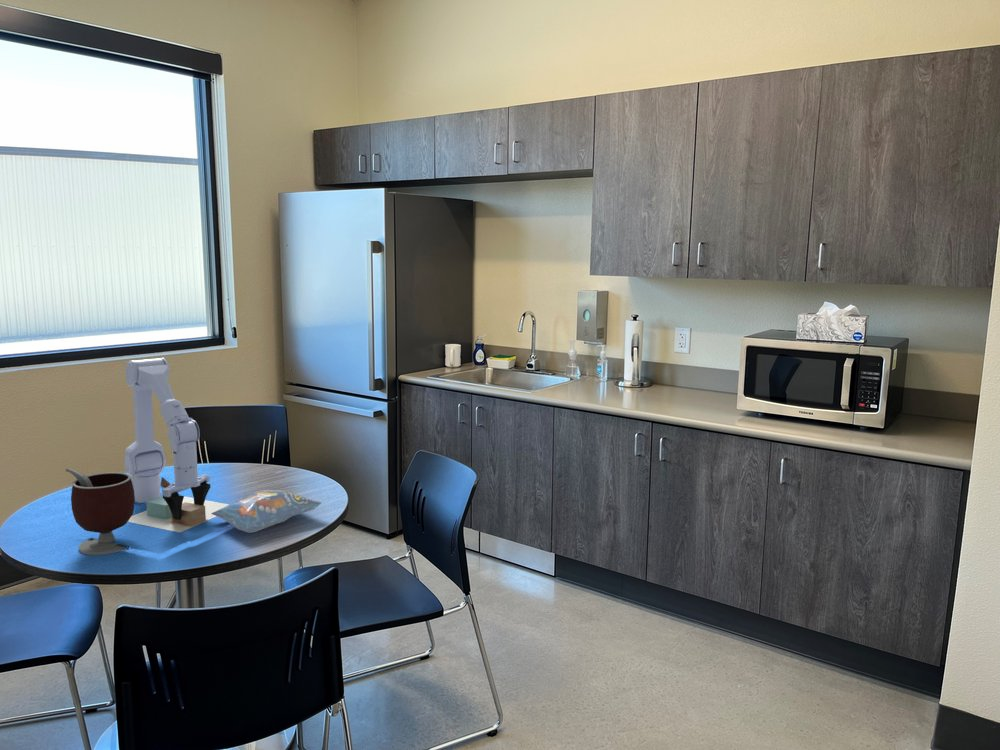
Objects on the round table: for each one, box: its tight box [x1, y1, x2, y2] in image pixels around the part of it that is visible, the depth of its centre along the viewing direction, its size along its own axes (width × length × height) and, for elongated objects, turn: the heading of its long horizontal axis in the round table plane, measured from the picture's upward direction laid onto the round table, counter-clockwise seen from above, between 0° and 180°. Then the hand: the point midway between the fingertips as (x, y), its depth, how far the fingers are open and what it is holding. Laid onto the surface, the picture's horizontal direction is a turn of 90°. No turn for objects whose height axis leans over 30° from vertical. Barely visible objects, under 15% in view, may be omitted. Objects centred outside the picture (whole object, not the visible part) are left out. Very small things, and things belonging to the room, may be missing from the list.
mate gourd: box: [65, 467, 136, 556], centre depth 182 cm, size 16×14×20 cm
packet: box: [211, 489, 322, 534], centre depth 200 cm, size 17×24×8 cm
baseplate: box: [127, 495, 230, 533], centre depth 203 cm, size 21×22×1 cm
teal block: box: [145, 496, 172, 519], centre depth 202 cm, size 7×5×4 cm
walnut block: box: [171, 502, 206, 526], centre depth 197 cm, size 7×5×4 cm
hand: (188, 514), depth 197 cm, fingers open, 7 cm apart
